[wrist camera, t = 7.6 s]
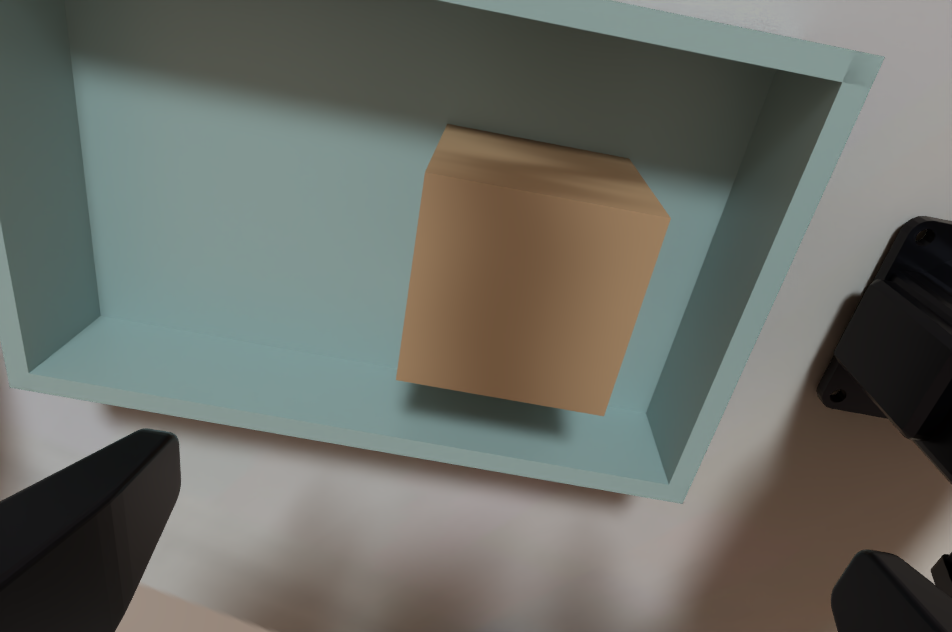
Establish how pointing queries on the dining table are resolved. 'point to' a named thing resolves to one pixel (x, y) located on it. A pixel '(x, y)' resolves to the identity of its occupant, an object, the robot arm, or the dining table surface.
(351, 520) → the dining table surface
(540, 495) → the dining table surface
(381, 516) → the dining table surface
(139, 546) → the robot arm
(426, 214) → the cube
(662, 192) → the tray
